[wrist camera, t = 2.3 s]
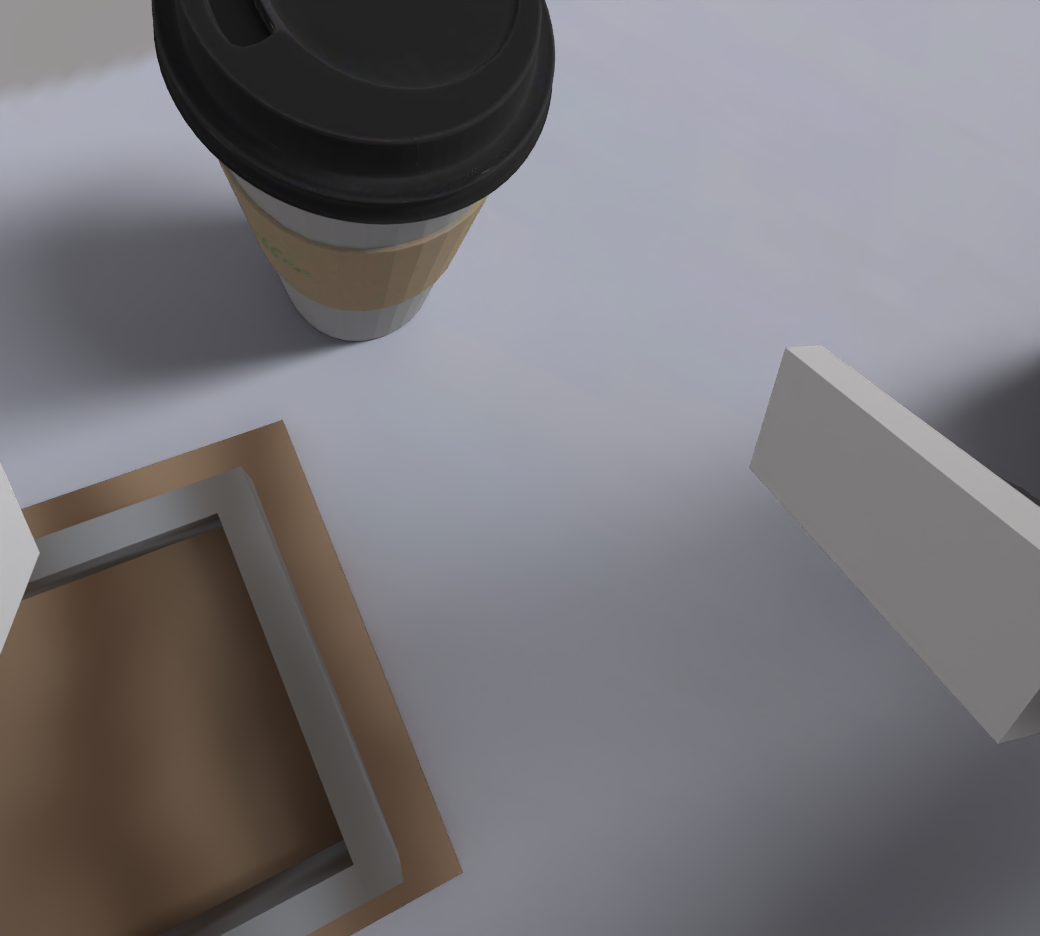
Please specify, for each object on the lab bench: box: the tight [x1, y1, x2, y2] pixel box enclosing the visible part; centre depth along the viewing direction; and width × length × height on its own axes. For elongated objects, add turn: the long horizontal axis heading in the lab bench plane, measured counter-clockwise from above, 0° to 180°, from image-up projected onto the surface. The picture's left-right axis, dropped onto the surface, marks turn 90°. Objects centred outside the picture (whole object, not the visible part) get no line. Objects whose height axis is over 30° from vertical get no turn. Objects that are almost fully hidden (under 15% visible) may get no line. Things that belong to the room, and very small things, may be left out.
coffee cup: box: [152, 0, 555, 341], centre depth 23 cm, size 9×9×15 cm
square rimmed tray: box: [0, 420, 463, 936], centre depth 23 cm, size 18×18×4 cm
